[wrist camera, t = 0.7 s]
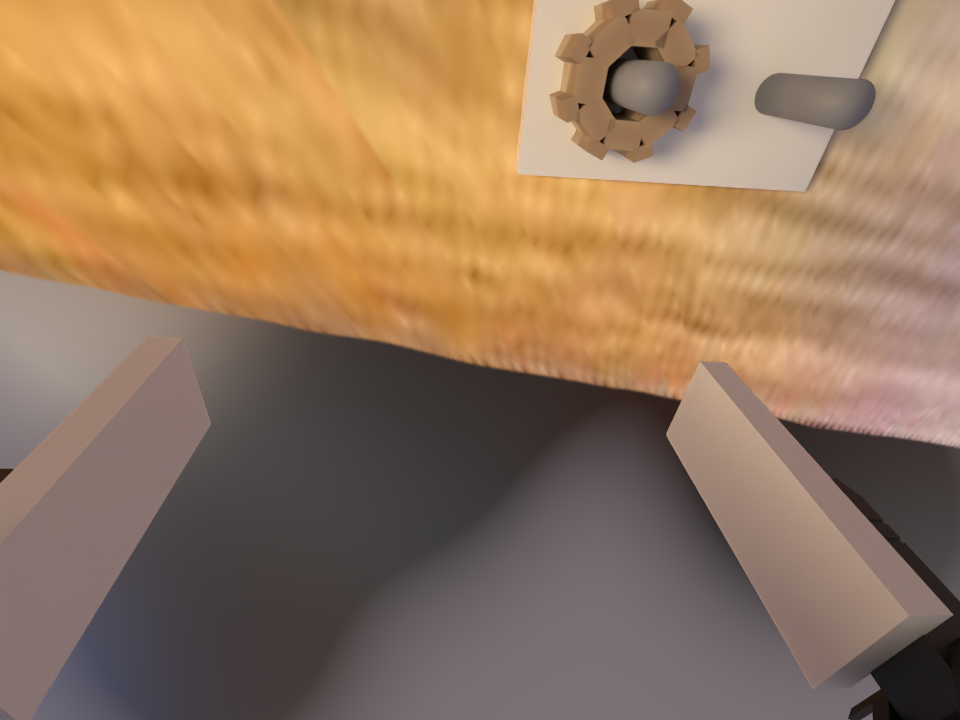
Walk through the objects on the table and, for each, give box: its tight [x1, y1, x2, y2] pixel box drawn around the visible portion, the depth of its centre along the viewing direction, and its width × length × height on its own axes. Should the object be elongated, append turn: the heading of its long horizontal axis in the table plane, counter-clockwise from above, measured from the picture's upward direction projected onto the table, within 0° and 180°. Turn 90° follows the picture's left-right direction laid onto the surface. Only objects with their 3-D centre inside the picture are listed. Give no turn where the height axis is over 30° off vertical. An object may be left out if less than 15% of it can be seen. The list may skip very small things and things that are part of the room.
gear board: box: [515, 0, 895, 192], centre depth 27 cm, size 12×22×8 cm, turn 86°
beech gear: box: [549, 0, 710, 163], centre depth 27 cm, size 8×8×4 cm
